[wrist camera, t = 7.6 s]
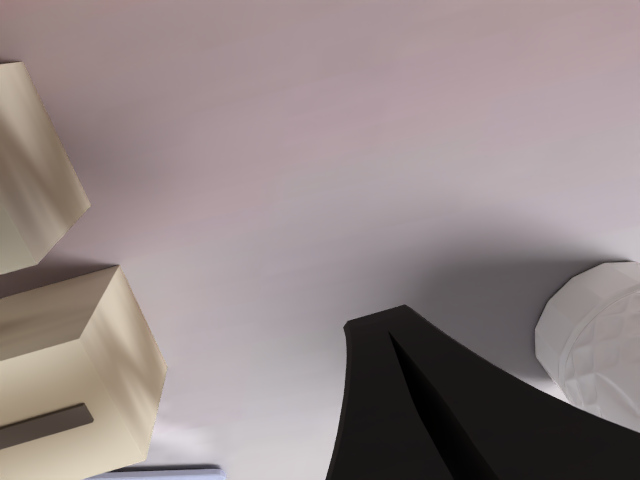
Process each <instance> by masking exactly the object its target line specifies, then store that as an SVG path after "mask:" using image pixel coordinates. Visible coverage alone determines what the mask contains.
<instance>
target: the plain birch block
mask: <svg viewBox="0 0 640 480" xmlns="http://www.w3.org/2000/svg"><path fill="white" fill-rule="evenodd" d="M90 206H91V204H90V202H89V200H88V198H87V196H86V194H85V192H84V190H83V188H82V186H81V183H80V181H79V179H78V177H77V175H76V173H75V171H74V169H73V167H72V165H71V162H70V160H69V158H68V156H67V154H66V152H65V150H64V148H63V146H62V144H61V141H60V139H59V137H58V135H57V133H56V131H55V129H54V127H53V125H52V123H51V120H50V118H49V116H48V114H47V112H46V110H45V108H44V106H43V104H42V101H41V99H40V97H39V95H38V93H37V91H36V89H35V87H34V85H33V83H32V80H31V78H30V76H29V74H28V72H27V70H26V68H25V66H24V64H23V62H16V63H7V64H0V275H2V274H6V273H9V272H13V271H16V270H20V269H23V268H27V267H30V266H34V265H37V264H38V263H39V262H40V261H41V260H42V259H43V258H44V257H45V255H46V254H47V253H48V252H49V251H50V250H51V249H52V248H53V247H54V246H55V244H56V243H57V242H58V241H59V240H60V239H61V238H62V237H63V236H64V235H65V233H66V232H67V231H68V230H69V229H70V228H71V227H72V226H73V225H74V224H75V223H76V221H77V220H78V219H79V218H80V217H81V216H82V215H83V214H84V213H85V212H86V210H87V209H88V208H89V207H90Z"/></svg>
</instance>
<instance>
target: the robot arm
mask: <svg viewBox="0 0 640 480" xmlns="http://www.w3.org/2000/svg"><path fill="white" fill-rule="evenodd" d="M343 328H344V332H345V336H346V346H347V364H346V376H345V388H344V397H343V403H342V409H341V415H340V420H339V426H338V432H337V436H336V441H335V445H334V450H333V454H332V458H331V462H330V465H329V469H328V473H327V476H326V480H640V433H639V432H637V431H634V430H631V429H629V428H626V427H624V426H621V425H618V424H616V423H613V422H611V421H608V420H605V419H603V418H600V417H598V416H596V415H593V414H591V413H588V412H586V411H584V410H581V409H579V408H577V407H575V406H572V405H570V404H568V403H566V402H564V401H562V400H560V399H557V398H555V397H553V396H551V395H549V394H547V393H545V392H542V391H540V390H538V389H536V388H535V387H533V386H531V385H529V384H527V383H525V382H523V381H521V380H520V379H518V378H516V377H514V376H512V375H511V374H509V373H507V372H505V371H504V370H502V369H500V368H498V367H497V366H495V365H493V364H492V363H490V362H488V361H487V360H485V359H483V358H482V357H480V356H479V355H477V354H476V353H474V352H472V351H471V350H469V349H468V348H466V347H465V346H463V345H462V344H460V343H458V342H457V341H456V340H454V339H453V338H451V337H450V336H448V335H447V334H445V333H444V332H443V331H441V330H440V329H438V328H437V327H436V326H434V325H433V324H431V323H430V322H429V321H427V320H426V319H425V318H423V317H422V316H421V315H419V314H418V313H417V312H415V311H414V310H413V309H412V308H410V307H408V306H407V305H402V306H398V307H395V308H391V309H388V310H384V311H381V312H377V313H374V314H371V315H367V316H364V317H360V318H357V319H353V320H350V321H347V323H346V324H345V326H344V327H343ZM82 480H227V474H226V472H225V471H223V470H221V469H195V470H166V471H138V472H110V473H102V474H98V475H95V476H92V477H88V478H85V479H82Z"/></svg>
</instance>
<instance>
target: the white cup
mask: <svg viewBox="0 0 640 480" xmlns="http://www.w3.org/2000/svg"><path fill="white" fill-rule="evenodd" d="M535 356H536V358H537V359H538V361H539V362H540V364H541V365H542V367H543V368H544V369H545V371H546V372H547V374H548V375H549V377H550V378H551V379H552V380H553V382H554V383H555V384H556V385H557V386H558V388H559V389H560V390H561V391H562V392H563V394H564V395H565V396H566V398H567V399H568V400H569V402H570V405H572V406H575V407H577V408H579V409H581V410H584V411H586V412H588V413H591V414H593V415H596V416H598V417H600V418H603V419H605V420H608V421H611V422H613V423H616V424H618V425H621V426H624V427H626V428H629V429H631V430H634V431H637V432H639V433H640V264H639V263H637V262H615V263H603V264H600V265H598V266H596V267H594V268H592V269H589V270H587V271H585V272H583V273H581V274H579V275H577V276H574V277H573V278H571V279H570V280H569V281H568V282H567V283H566V284H565V285H564V286H563V287H562V288H561V289H560V290H559V291H558V292H557V293H556V294H555V295H554V296H553V297H552V298H551V299H550V300H549V301H548V302H547V304H546V306H545V309H544V311H543V313H542V315H541V317H540V319H539V321H538V323H537V326H536V328H535Z"/></svg>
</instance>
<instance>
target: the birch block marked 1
mask: <svg viewBox="0 0 640 480" xmlns="http://www.w3.org/2000/svg"><path fill="white" fill-rule="evenodd" d="M167 368H168V367H167V365H166V362H165V360H164V358H163V356H162V354H161V352H160V350H159V348H158V345H157V343H156V341H155V339H154V337H153V335H152V333H151V331H150V328H149V326H148V324H147V322H146V320H145V318H144V316H143V314H142V311H141V309H140V307H139V305H138V303H137V301H136V299H135V297H134V294H133V292H132V290H131V288H130V286H129V284H128V282H127V280H126V277H125V275H124V273H123V271H122V269H121V267H120V265H117V266H114V267H110V268H107V269H103V270H100V271H96V272H93V273H89V274H86V275H82V276H79V277H75V278H71V279H68V280H64V281H61V282H57V283H54V284H50V285H47V286H43V287H40V288H36V289H33V290H29V291H26V292H22V293H18V294H15V295H11V296H8V297H4V298H1V299H0V480H82V479H85V478H88V477H92V476H95V475H98V474H102V473H105V472H108V471H112V470H115V469H119V468H122V467H125V466H129V465H132V464H135V463H139V462H142V461H145V460H146V458H147V453H148V449H149V445H150V441H151V436H152V432H153V428H154V423H155V419H156V415H157V411H158V406H159V402H160V398H161V393H162V389H163V385H164V381H165V376H166V372H167Z"/></svg>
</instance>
